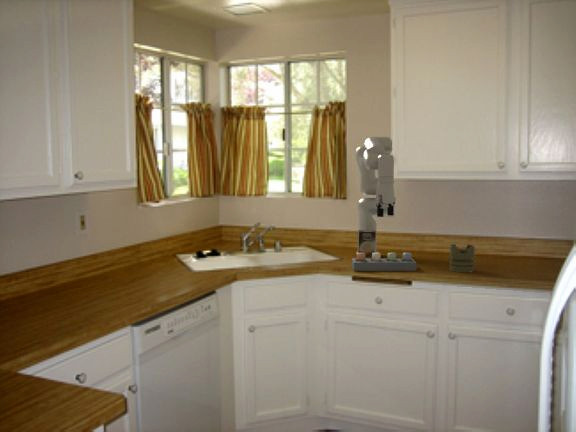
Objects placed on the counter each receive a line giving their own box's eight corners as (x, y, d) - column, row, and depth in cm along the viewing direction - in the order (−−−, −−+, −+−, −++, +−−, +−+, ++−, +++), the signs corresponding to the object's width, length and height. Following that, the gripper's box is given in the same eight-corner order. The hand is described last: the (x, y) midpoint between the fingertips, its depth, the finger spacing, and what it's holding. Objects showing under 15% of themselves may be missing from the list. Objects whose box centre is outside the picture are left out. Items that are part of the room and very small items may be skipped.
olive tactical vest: (476, 247, 292) (451, 247, 294) (475, 273, 294) (450, 272, 295) (473, 244, 303) (449, 243, 305) (472, 268, 305) (448, 267, 306)
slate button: (402, 261, 307) (402, 252, 306) (410, 261, 307) (410, 252, 306) (403, 262, 303) (403, 253, 302) (411, 262, 303) (412, 253, 302)
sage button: (387, 261, 307) (387, 252, 307) (395, 261, 307) (395, 252, 306) (388, 262, 303) (388, 253, 303) (396, 262, 303) (396, 253, 303)
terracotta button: (356, 261, 307) (356, 252, 307) (364, 261, 307) (364, 252, 307) (357, 262, 303) (357, 254, 303) (365, 262, 303) (365, 254, 303)
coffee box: (357, 262, 323) (357, 231, 321) (357, 260, 329) (357, 229, 327) (375, 262, 322) (375, 231, 320) (375, 260, 328) (375, 230, 326)
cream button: (371, 261, 307) (371, 252, 307) (379, 261, 307) (380, 252, 307) (372, 262, 303) (372, 253, 303) (381, 262, 303) (381, 254, 303)
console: (351, 266, 311) (351, 258, 311) (411, 266, 311) (411, 258, 311) (353, 270, 300) (354, 262, 299) (416, 270, 299) (416, 262, 299)
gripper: (387, 180, 307) (387, 214, 309) (369, 180, 294) (369, 217, 295) (401, 180, 303) (401, 215, 304) (383, 181, 289) (383, 217, 291)
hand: (385, 216), depth 300 cm, fingers open, 9 cm apart
